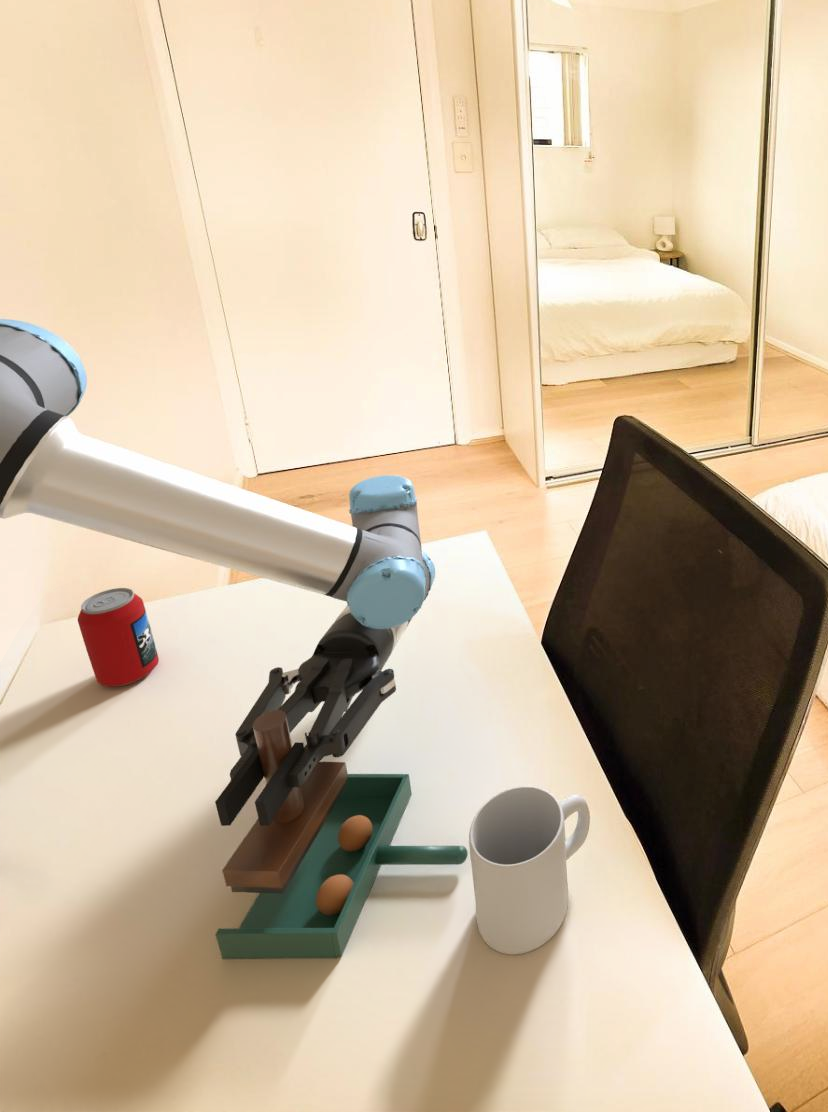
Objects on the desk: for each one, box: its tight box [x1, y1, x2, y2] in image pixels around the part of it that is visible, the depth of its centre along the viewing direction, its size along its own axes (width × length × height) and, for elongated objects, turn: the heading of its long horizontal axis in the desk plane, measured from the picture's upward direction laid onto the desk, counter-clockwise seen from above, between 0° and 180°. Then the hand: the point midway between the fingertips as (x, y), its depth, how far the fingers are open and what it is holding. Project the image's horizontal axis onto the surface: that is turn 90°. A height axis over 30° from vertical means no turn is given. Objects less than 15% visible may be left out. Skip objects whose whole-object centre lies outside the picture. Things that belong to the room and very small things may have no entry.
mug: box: [468, 785, 591, 955], centre depth 65 cm, size 12×8×11 cm
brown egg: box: [316, 874, 354, 916], centre depth 65 cm, size 3×3×3 cm
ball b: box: [338, 815, 373, 851], centre depth 71 cm, size 3×3×3 cm
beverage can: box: [77, 587, 160, 687], centre depth 92 cm, size 7×7×12 cm
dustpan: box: [214, 773, 469, 960], centre depth 69 cm, size 19×17×3 cm
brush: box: [221, 710, 349, 894], centre depth 65 cm, size 5×12×14 cm, turn 0°
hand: (242, 813), depth 59 cm, fingers closed on brush, 3 cm apart
